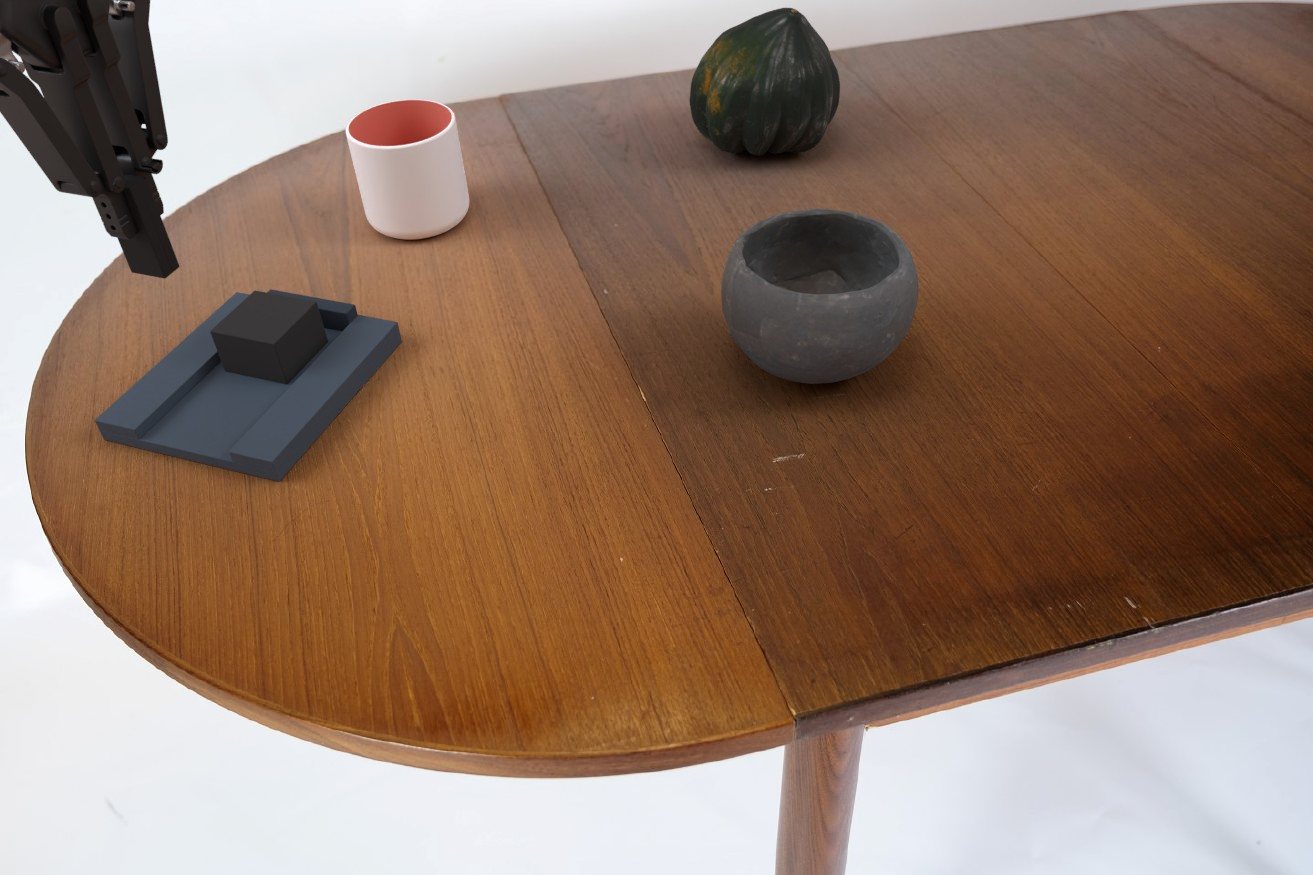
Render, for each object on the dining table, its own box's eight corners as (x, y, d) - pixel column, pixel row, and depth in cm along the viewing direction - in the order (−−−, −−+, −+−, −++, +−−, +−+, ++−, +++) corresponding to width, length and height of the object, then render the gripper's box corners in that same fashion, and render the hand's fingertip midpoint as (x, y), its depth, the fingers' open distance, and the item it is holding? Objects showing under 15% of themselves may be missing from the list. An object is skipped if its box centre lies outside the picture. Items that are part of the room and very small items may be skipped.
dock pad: (279, 482, 82) (268, 451, 80) (103, 439, 87) (89, 410, 85) (402, 341, 95) (395, 311, 93) (243, 310, 99) (233, 282, 97)
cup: (424, 255, 105) (403, 157, 98) (346, 228, 109) (322, 132, 103) (492, 207, 111) (477, 112, 104) (416, 184, 115) (397, 90, 109)
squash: (658, 73, 120) (703, -6, 106) (781, 49, 125) (839, -29, 111) (702, 196, 119) (752, 134, 105) (824, 168, 124) (888, 104, 109)
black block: (287, 384, 89) (274, 344, 87) (224, 371, 91) (209, 331, 88) (328, 341, 94) (316, 301, 91) (267, 329, 95) (254, 289, 93)
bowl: (745, 429, 84) (746, 319, 78) (705, 317, 95) (703, 212, 89) (936, 402, 86) (953, 291, 79) (875, 294, 97) (885, 189, 90)
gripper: (-39, -73, 53) (136, 335, 69) (143, -148, 62) (261, 227, 78) (-156, -83, 55) (39, 315, 71) (37, -153, 64) (172, 213, 80)
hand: (155, 269), depth 74 cm, fingers closed
